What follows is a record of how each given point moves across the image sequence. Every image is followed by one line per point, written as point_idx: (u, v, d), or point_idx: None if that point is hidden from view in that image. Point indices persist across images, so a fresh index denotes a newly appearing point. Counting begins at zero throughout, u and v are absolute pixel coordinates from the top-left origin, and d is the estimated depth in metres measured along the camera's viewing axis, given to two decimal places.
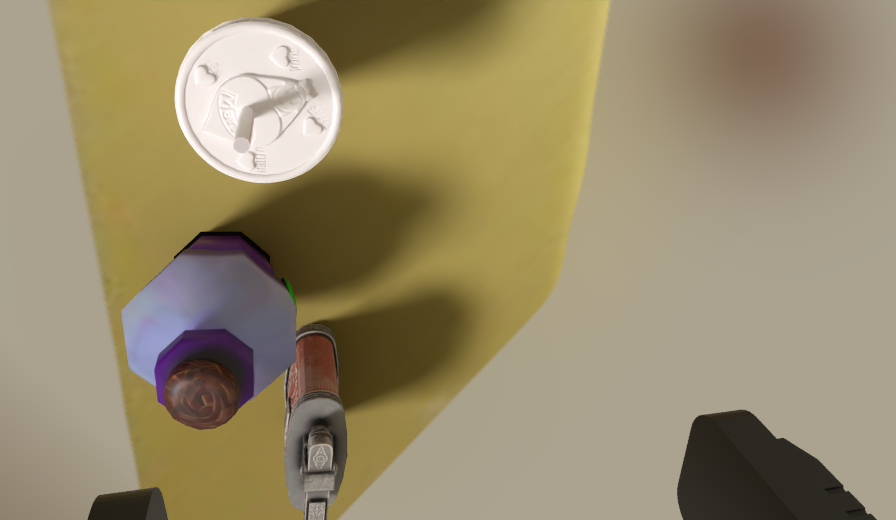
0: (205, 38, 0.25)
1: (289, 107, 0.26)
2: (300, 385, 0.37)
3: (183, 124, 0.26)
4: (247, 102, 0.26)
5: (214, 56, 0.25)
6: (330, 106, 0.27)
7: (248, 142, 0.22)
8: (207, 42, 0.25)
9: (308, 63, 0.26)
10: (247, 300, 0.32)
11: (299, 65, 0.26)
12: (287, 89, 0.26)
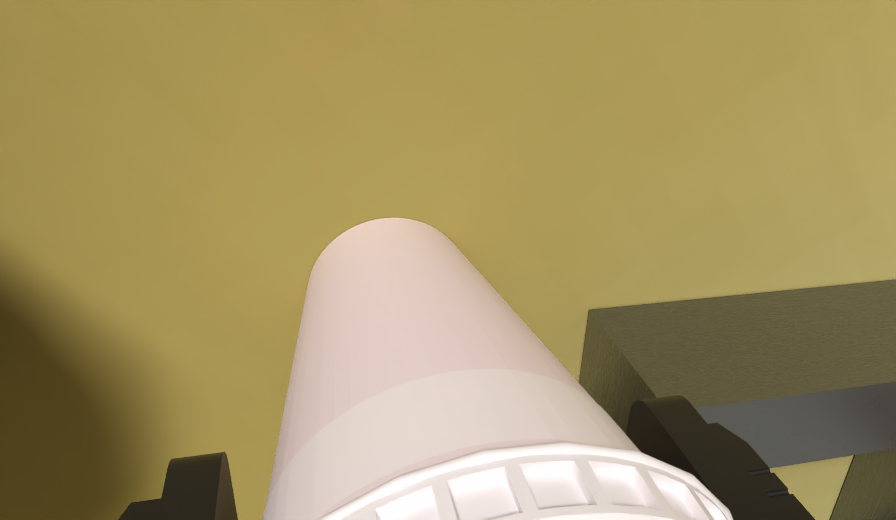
0: None
1: None
2: None
3: None
4: None
5: None
6: None
7: None
8: None
9: None
10: None
11: None
12: None
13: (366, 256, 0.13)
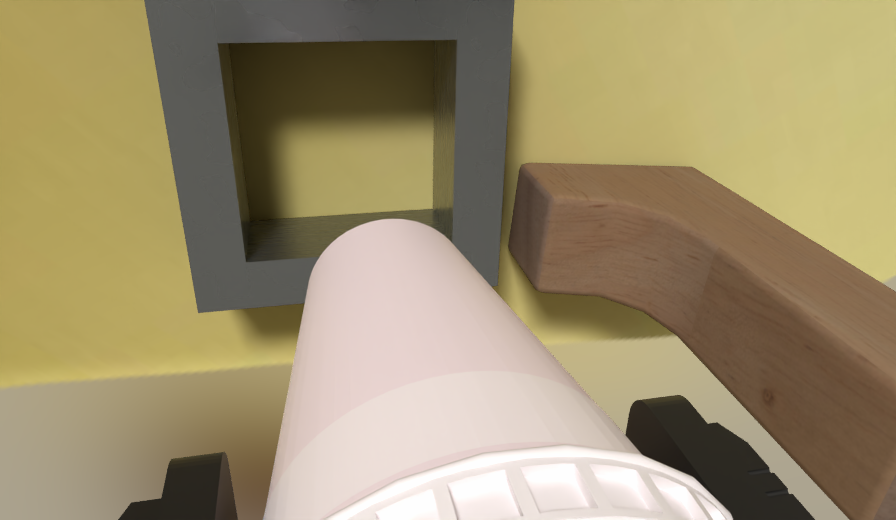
0: None
1: None
2: None
3: None
4: None
5: None
6: None
7: None
8: None
9: None
10: None
11: None
12: None
13: (366, 257, 0.13)
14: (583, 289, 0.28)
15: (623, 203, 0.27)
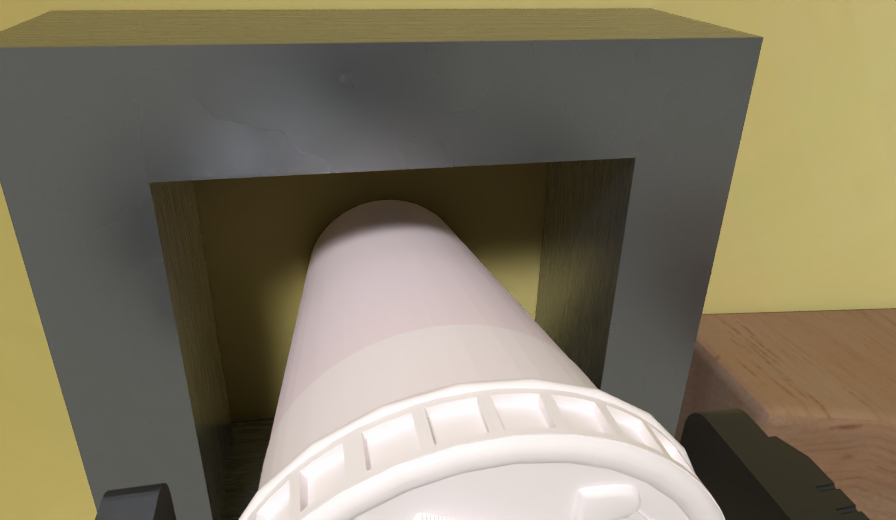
0: (713, 505, 0.08)
1: None
2: None
3: (439, 462, 0.07)
4: None
5: None
6: None
7: None
8: (705, 516, 0.08)
9: None
10: None
11: None
12: None
13: (363, 233, 0.13)
14: None
15: (890, 421, 0.15)
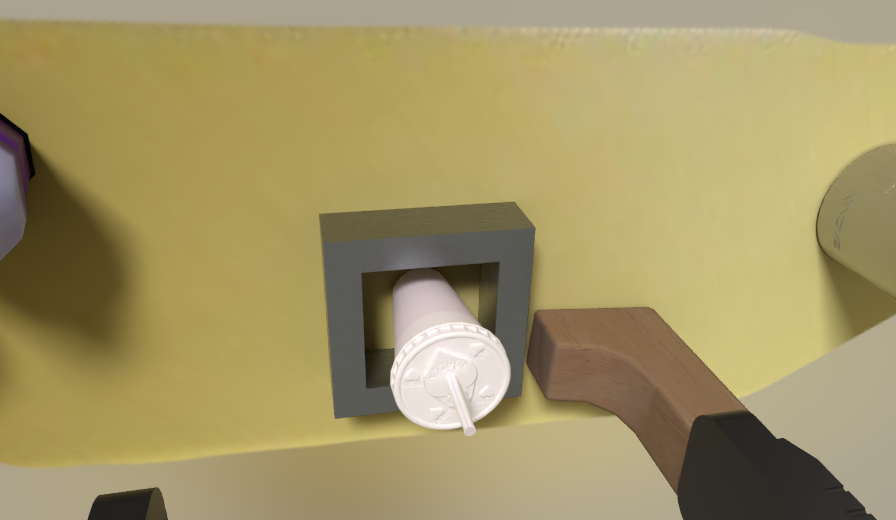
0: (501, 349, 0.35)
1: (453, 401, 0.36)
2: None
3: (442, 336, 0.34)
4: (458, 377, 0.35)
5: (489, 354, 0.35)
6: (450, 422, 0.36)
7: None
8: (499, 352, 0.35)
9: (479, 405, 0.37)
10: None
11: (479, 403, 0.36)
12: (466, 399, 0.36)
13: (415, 282, 0.41)
14: (576, 398, 0.44)
15: (601, 347, 0.42)
